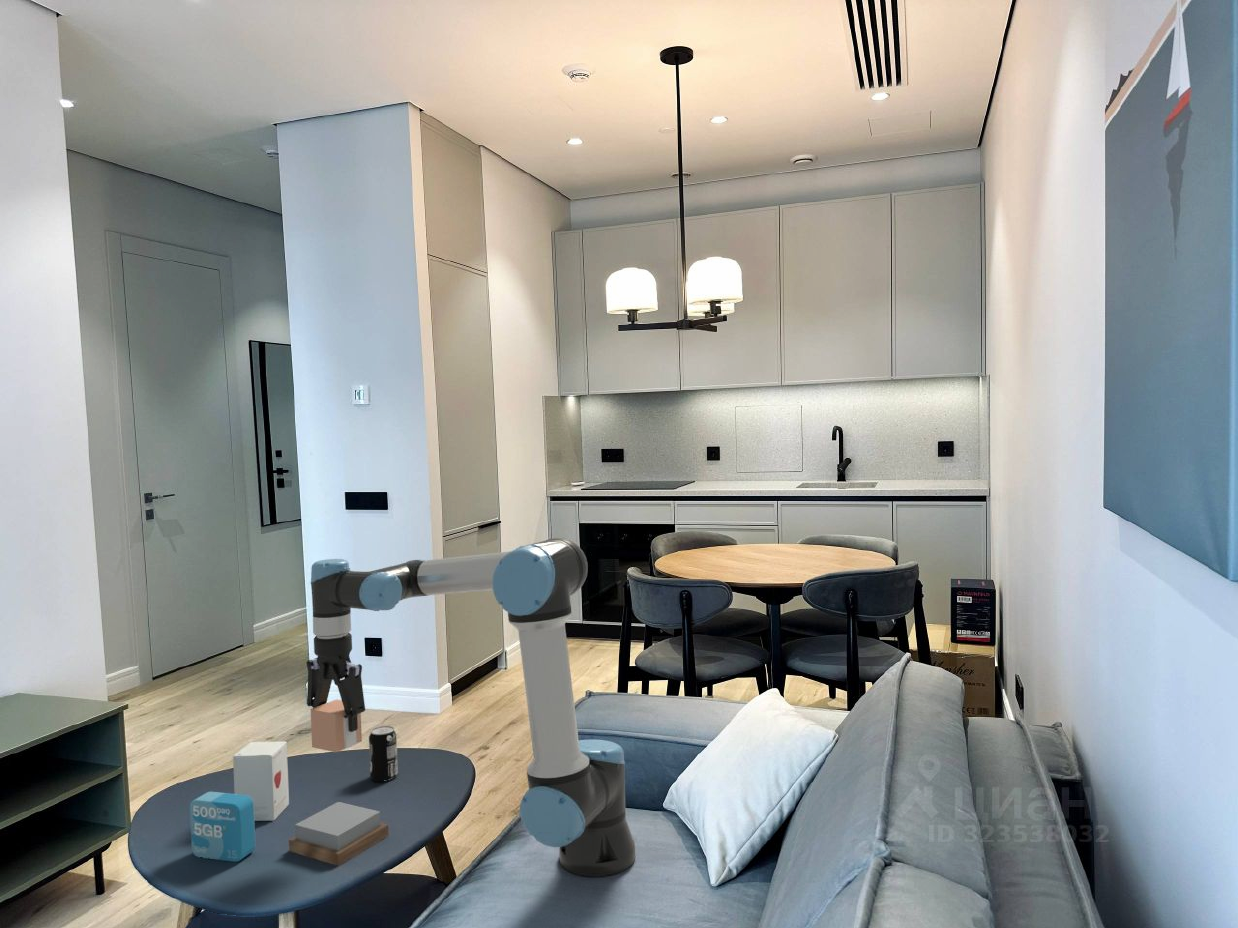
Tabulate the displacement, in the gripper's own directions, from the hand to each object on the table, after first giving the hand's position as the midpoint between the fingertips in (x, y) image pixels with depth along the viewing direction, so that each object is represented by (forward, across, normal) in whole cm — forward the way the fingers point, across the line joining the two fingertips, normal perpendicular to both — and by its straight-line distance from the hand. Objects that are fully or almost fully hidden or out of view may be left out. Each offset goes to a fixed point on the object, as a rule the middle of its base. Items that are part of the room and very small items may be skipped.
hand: (337, 742), depth 183 cm
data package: (+21, +18, +15) cm, 32 cm away
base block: (+22, 0, 0) cm, 22 cm away
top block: (+19, 0, +1) cm, 19 cm away
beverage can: (+21, +16, -29) cm, 40 cm away
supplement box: (+21, +27, -2) cm, 35 cm away
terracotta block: (0, 0, 0) cm, 0 cm away
